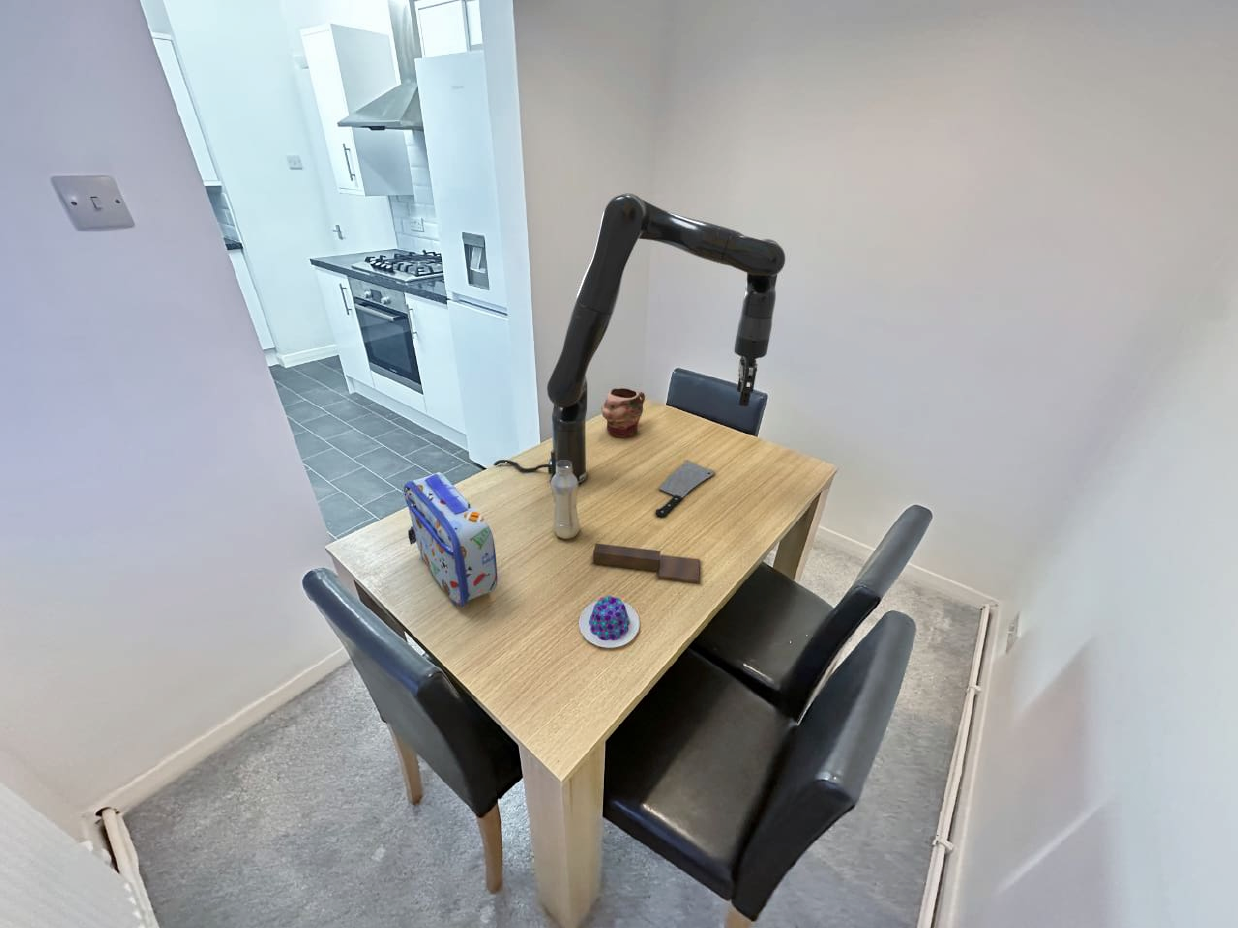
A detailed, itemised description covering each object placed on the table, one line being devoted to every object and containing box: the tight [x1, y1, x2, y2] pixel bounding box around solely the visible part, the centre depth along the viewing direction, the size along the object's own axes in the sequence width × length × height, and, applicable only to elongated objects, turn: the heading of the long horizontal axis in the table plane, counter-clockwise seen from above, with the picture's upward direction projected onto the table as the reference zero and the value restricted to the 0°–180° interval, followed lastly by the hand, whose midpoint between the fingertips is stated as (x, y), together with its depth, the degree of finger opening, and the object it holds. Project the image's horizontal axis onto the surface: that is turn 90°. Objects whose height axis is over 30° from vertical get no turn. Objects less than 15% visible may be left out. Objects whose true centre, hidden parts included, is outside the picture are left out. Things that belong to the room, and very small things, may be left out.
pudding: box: [578, 595, 641, 649], centre depth 96 cm, size 12×12×5 cm
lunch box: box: [403, 471, 498, 607], centre depth 103 cm, size 28×10×22 cm, turn 42°
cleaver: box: [655, 460, 714, 518], centre depth 139 cm, size 29×1×10 cm
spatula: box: [592, 543, 700, 584], centre depth 111 cm, size 24×7×4 cm, turn 82°
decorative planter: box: [600, 387, 646, 438], centre depth 166 cm, size 20×12×14 cm, turn 143°
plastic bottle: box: [550, 460, 581, 540], centre depth 116 cm, size 6×7×20 cm
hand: (742, 398), depth 122 cm, fingers open, 8 cm apart
